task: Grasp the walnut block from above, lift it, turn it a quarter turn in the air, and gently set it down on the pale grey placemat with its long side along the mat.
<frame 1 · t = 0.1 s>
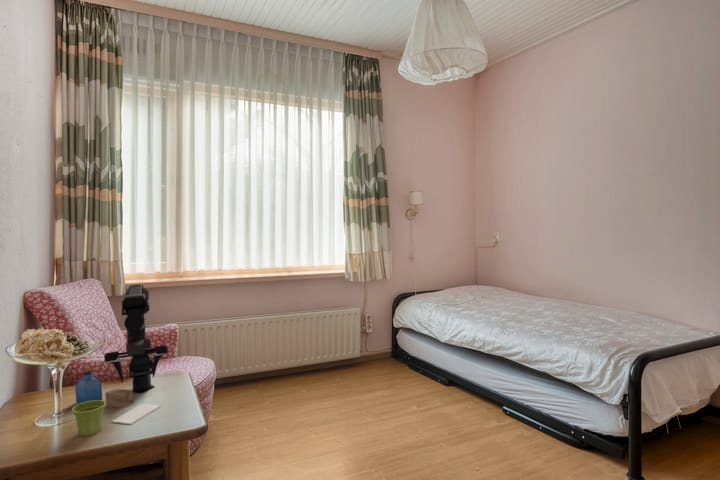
hand: (138, 379, 146), 15 cm above the table, tool pointing down, fingers open, 9 cm apart
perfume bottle: (89, 401, 167), on the table
plant pot: (90, 432, 143), on the table
walnut block: (119, 404, 164), on the table
placemat: (136, 414, 155), on the table
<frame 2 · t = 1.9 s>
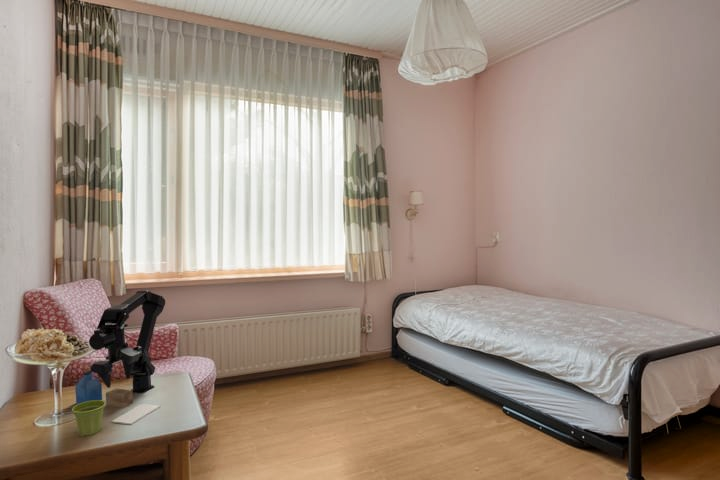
hand: (118, 382, 164), 8 cm above the table, tool pointing down, fingers open, 9 cm apart
nothing on the table moved.
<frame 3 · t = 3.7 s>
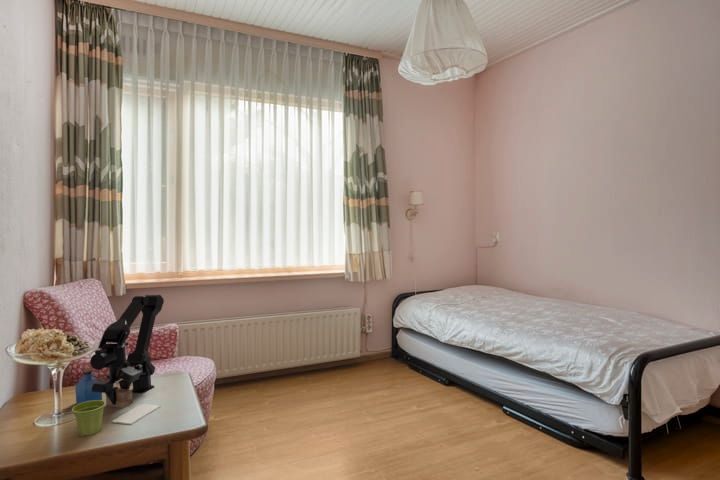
hand: (119, 401, 164), 1 cm above the table, tool pointing down, fingers closed on walnut block, 5 cm apart
walnut block: (119, 404, 164), on the table, touching gripper
everything else where it was.
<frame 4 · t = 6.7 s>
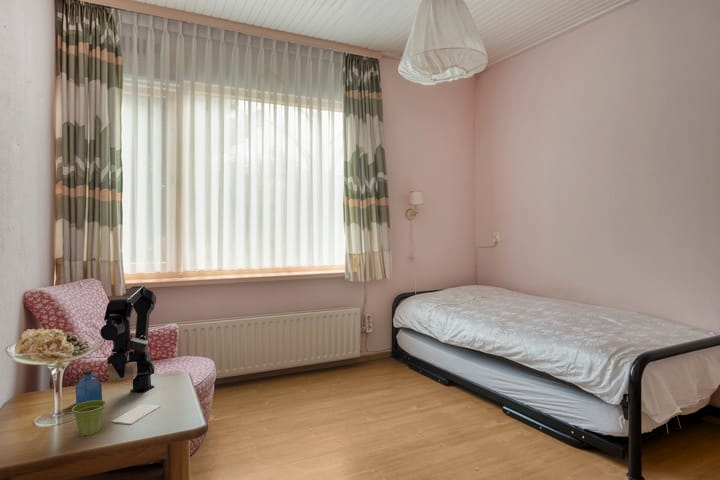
hand: (123, 375, 160), 12 cm above the table, tool pointing down, fingers closed on walnut block, 5 cm apart
walnut block: (123, 378, 160), point 11 cm above the table, touching gripper
everything else where it was.
when the fingers open (3 cm above the table, at t = 9.6 s): walnut block drops 1 cm, resting on placemat.
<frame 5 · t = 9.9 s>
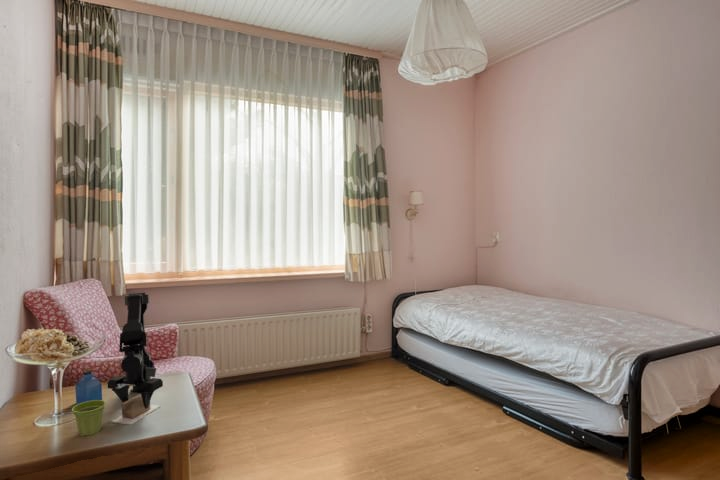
hand: (136, 407, 155), 3 cm above the table, tool pointing down, fingers open, 8 cm apart
walnut block: (136, 413, 155), resting on placemat
everything else where it was.
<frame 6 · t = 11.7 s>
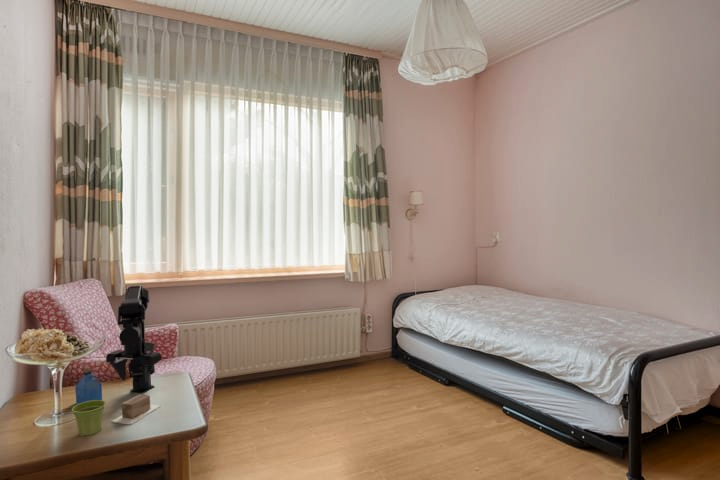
hand: (135, 381, 154), 12 cm above the table, tool pointing down, fingers open, 9 cm apart
nothing on the table moved.
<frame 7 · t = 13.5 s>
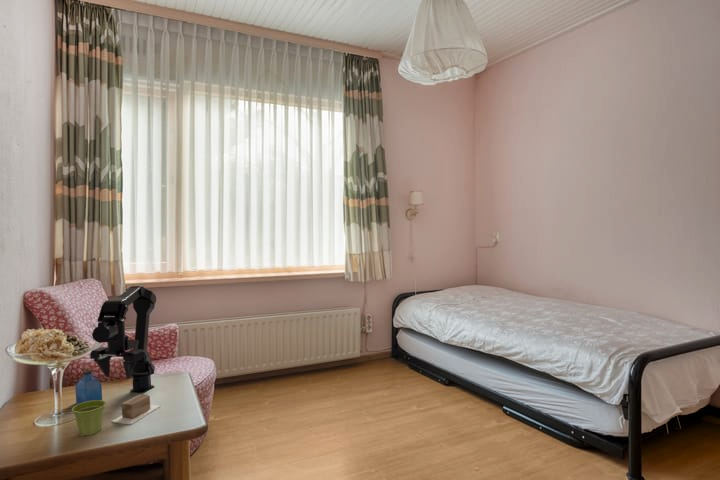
hand: (118, 377, 158), 12 cm above the table, tool pointing down, fingers open, 9 cm apart
nothing on the table moved.
at the end: walnut block 0.1 cm off-centre on the placemat, point 0.4 cm above the placemat's base; walnut block tilted 0°; the gripper is holding nothing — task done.
